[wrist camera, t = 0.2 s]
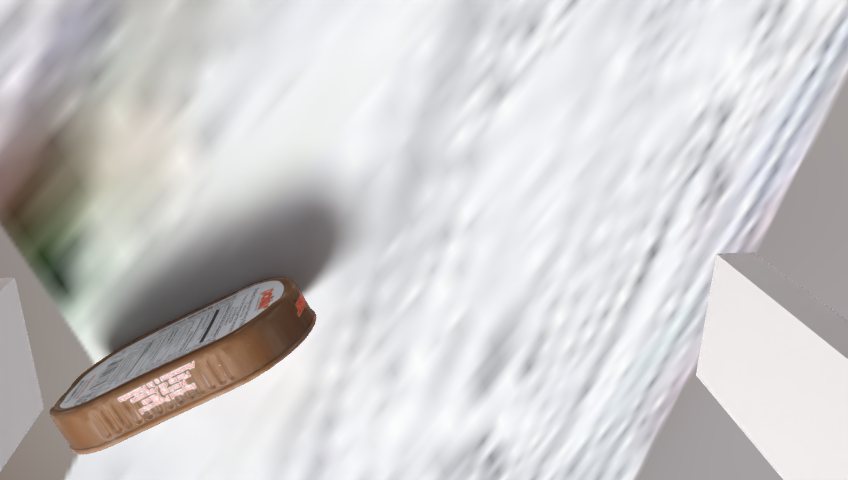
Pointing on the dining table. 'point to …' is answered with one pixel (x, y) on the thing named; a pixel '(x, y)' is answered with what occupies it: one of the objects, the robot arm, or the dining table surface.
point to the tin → (183, 364)
